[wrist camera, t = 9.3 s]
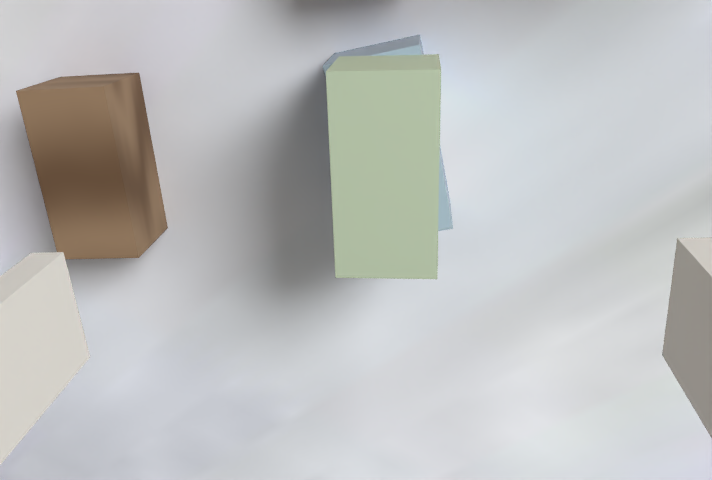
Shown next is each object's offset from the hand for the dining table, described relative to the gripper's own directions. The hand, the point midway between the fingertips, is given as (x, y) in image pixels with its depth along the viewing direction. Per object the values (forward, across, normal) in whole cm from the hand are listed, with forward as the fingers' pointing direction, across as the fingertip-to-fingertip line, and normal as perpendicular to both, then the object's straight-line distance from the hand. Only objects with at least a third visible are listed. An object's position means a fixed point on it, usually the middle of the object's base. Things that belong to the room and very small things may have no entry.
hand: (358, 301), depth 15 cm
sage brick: (+15, 0, -1) cm, 15 cm away
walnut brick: (+19, -14, -2) cm, 24 cm away
